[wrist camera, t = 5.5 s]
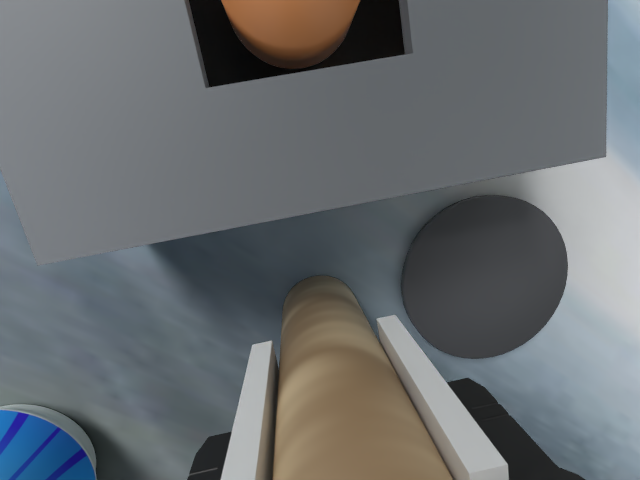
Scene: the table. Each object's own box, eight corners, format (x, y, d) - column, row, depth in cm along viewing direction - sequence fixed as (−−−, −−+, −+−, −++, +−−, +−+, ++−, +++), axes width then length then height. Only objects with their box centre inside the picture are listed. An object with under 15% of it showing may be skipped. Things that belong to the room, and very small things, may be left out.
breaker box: (135, 231, 15) (37, 265, 9) (27, -117, 12) (-214, -385, 6) (491, 164, 16) (606, 156, 10) (469, -176, 13) (612, -458, 7)
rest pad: (411, 367, 18) (415, 373, 17) (390, 213, 16) (394, 214, 16) (560, 334, 18) (568, 340, 18) (556, 181, 17) (566, 181, 16)
